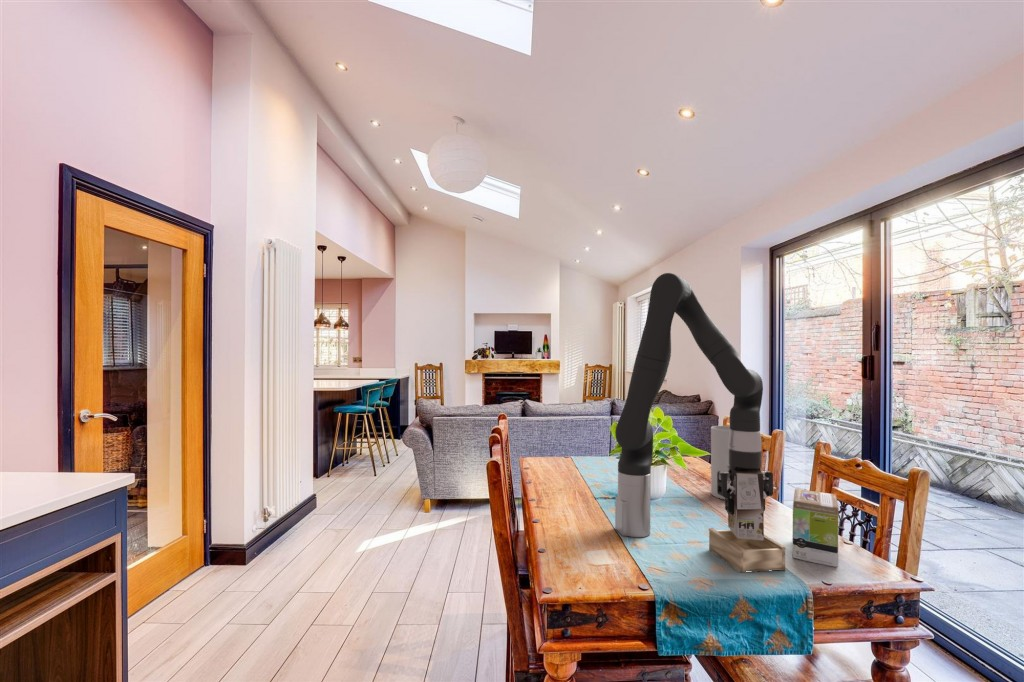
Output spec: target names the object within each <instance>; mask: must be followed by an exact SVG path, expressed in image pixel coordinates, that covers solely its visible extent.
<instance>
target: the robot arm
mask: <svg viewBox="0 0 1024 682" xmlns="http://www.w3.org/2000/svg"><path fill="white" fill-rule="evenodd" d="M649 295H650V296H649V303H648V307H647V308H648V309H647V315H646V318H645V319H646V320H645V324H644V327H643V331H642V335H641V338H640V342H639V345H638V350H637V352H636V356H635V360H634V364H633V369H632V373H631V377H630V382H629V386H628V389H627V390H628V391H627V396H626V399H625V402H624V406H623V408H622V411H621V414H620V417H619V419H618V422H617V424H616V428H615V432H614V433H615V439H616V442H617V444H618V445H619V446H620V447H621V452H620V453H621V454H620V457H619V460H618V462H617V495H616V496H615V498H614V499H615V501H614V502H615V506H614V507H615V508H614V509H615V510H614V513H615V514H614V516H615V517H614V518H615V519H614V529H615V530H616V531H617V532H618V533H619V534H621V536H623V537H624V536H628V537H632V538H644V537H647V536H650V534H651V479H652V478H651V475H652V473H651V472H652V471H651V468H652V463H653V457H654V456H653V452H654V430H653V427H652V424H651V423H650V422H649V419H650V413H651V410H652V406H653V404H654V401H655V400H656V398H657V396H658V393H659V392H660V390H661V388H662V386H663V383H664V381H665V379H666V376H667V374H668V373H667V372H668V369H669V366H670V362H671V357H672V334H671V333H672V332H671V331H672V325H673V319H674V316H675V314H676V315H677V316H678V317H680V319H681V320H682V321H683V322H684V324H685V325H686V327H688V328H687V329H689V332H690V333H691V335H692V337H693V339H694V341H695V343H696V344H697V346H698V348H699V350H700V351H701V352H702V353H703V355H704V356H705V357H706V359H707V360H708V362H709V363H711V365H712V366H713V368H714V369H715V371H716V373H717V376H718V377H719V379H720V380H721V382H722V384H723V386H724V387H725V388H726V389H727V391H728V392H729V393H730V394H732V395H733V397H734V398H733V405H732V407H731V408H730V411H729V426H730V432H729V466H730V469H729V472H721V471H718V472H717V493H718V494H719V495H721V496H723V497H725V500H724V509H725V512H726V513H727V514H728V513H729V514H734V500H733V499H734V491H735V489H734V487H733V486H731V481H730V482H729V484H728V486H727V481H728V480H729V479H728V478H729V477H730V479H731V480H732V479H733V480H734V471H744V470H758V471H760V472H761V473H763V474H764V475H763V494H764V496H763V502H764V512H765V510H766V498H768V497H773V496H774V473H773V472H771V471H769V470H767V469H764V470H763V471H762V469H761V468H762V467H763V464H762V463H763V462H762V455H763V454H762V451H763V450H762V435H761V414H760V413H761V406H762V401H763V393H764V392H763V391H764V385H763V379H762V377H761V375H760V374H759V373H758V372H757V371H755V370H753V369H749V368H748V369H747V367H746V366H745V364H744V363H743V362H742V360H741V359H740V358H739V352H738V351H737V350H736V348H735V346H734V345H733V344H732V342H731V341H730V340H729V339H728V338H727V337H726V335H725V334H724V333H723V332H722V330H720V328H719V327H718V326H717V325H716V323H715V322H714V321H713V320H712V318H711V317H710V316H709V314H707V312H706V310H705V309H704V308H703V305H702V304H701V303H700V301H699V300H698V297H697V296H696V295H695V292H694V290H693V289H692V287H691V284H690V283H689V281H688V280H686V279H684V278H683V277H681V276H680V275H677V274H675V273H671V272H664V273H661V275H659V276H657V277H656V279H655V280H654V282H653V284H652V285H651V289H650V294H649Z"/></svg>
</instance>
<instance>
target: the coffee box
mask: <svg viewBox="0 0 1024 682" xmlns="http://www.w3.org/2000/svg"><path fill="white" fill-rule="evenodd" d="M729 469H730V466H727V472H729ZM763 475H764V474H763V473H761V472H760V471H758V470H744V471H734V480H733V479H732V480H731V479H730V477H729V478H728V479H729V480H728V484H729V482H730V481H731V486H733V487H734V489H735V491H734V499H733V500H734V514H729V513H727V523H728V524H727V526H728V529H729V530H731V531H732V532H733V533H734V535H735V536H736V537H737V538H738V539H751V540H761V541H763V540H764V535H765V533H764V531H765V530H764V529H765V528H764V526H765V525H764V523H765V522H764V521H765V520H764V519H765V518H764V513H765V511H764V502H763V496H764V494H763Z"/></svg>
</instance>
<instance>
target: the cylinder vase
mask: <svg viewBox="0 0 1024 682" xmlns="http://www.w3.org/2000/svg"><path fill="white" fill-rule="evenodd" d="M729 432H730V425H712V426H710V494H711V495H712V496H713V497H714V496H715V497H714V498H716V499H719V498H720V500H723V499H724V501H725V497H723V496H721V495H719V494H718V493H717V472H718V471H721V472H727V466H729ZM727 486H728V481H727Z"/></svg>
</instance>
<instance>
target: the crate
mask: <svg viewBox="0 0 1024 682" xmlns="http://www.w3.org/2000/svg"><path fill="white" fill-rule="evenodd" d="M708 532H709V533H708V535H709V537H708V538H709V539H708V542H709V543H708V544H709V545H708V546H709V548H708V550H710V552H712V553H713V554H714V553H715V556H717V557H718V556H719V558H720V560H722V559H723V562H725V563H726V562H727V563H726V564H727V565H729V564H730V565H731V566H730V565H729V566H730V567H732V568H733V567H734V568H735V569H734V568H733V569H734V570H736V571H737V570H738V571H739V573H740V572H745V573H747V572H746V571H767V572H770V571H769V570H785V571H786V548H787V547H786V546H785V545H783V544H781V543H779V542H777V541H775V540H774V539H772V538H771V537H769V536H767V535H765V534H764V540H763V541H761V540H751V539H738V538H737V537H736V536H735V535H734V533H733V532H732V531H731V529H714V528H713V527H709V528H708ZM738 571H737V572H738Z"/></svg>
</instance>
